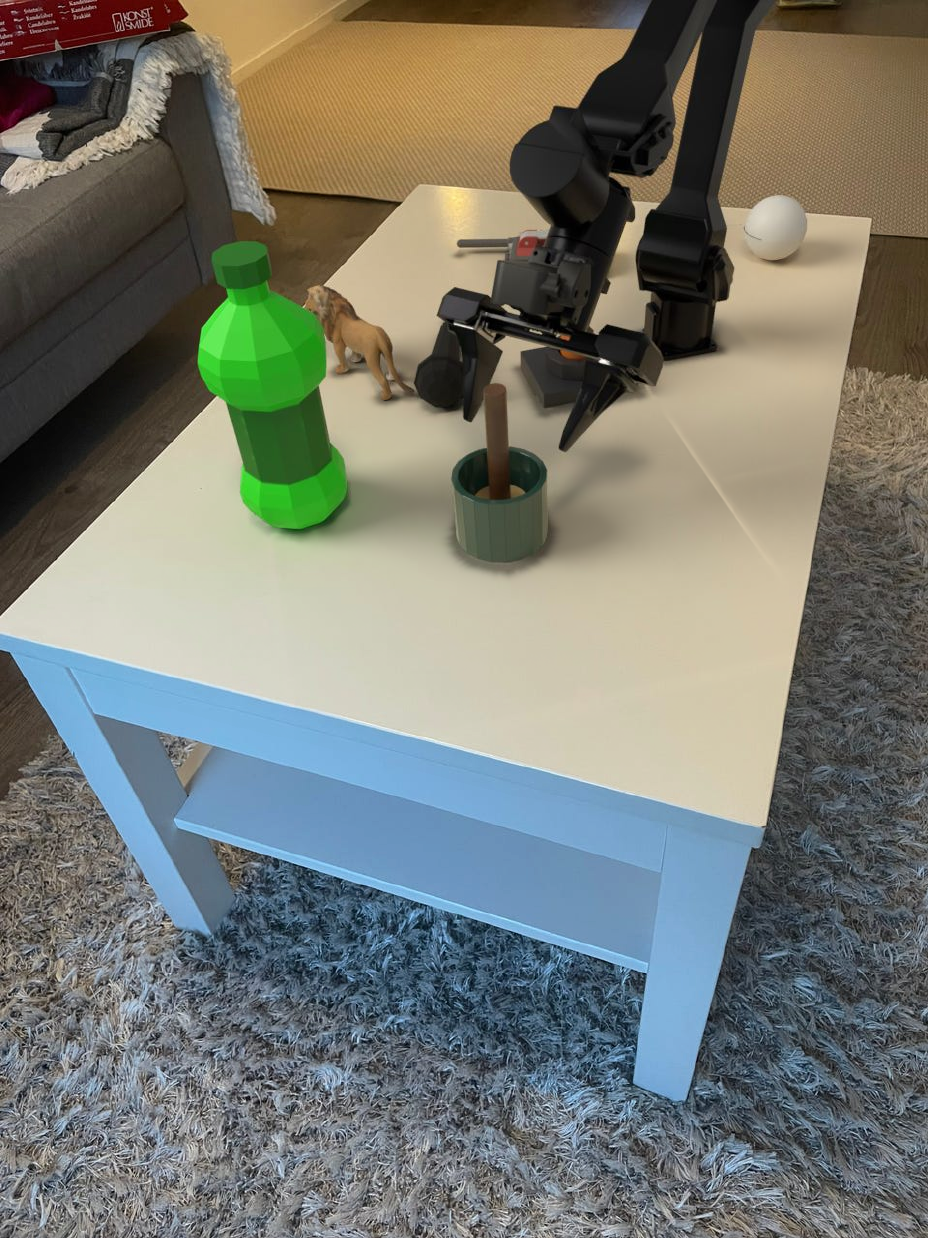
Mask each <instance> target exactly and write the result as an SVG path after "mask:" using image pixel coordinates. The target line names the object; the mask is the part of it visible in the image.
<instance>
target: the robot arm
mask: <svg viewBox="0 0 928 1238" xmlns="http://www.w3.org/2000/svg"><path fill="white" fill-rule="evenodd" d="M777 2H778V0H649V3H648V5H647V7H646V9H645V11H644V13H643V15H642V17H641V19H640V21H639V23H638V26H637V28H636V30H635V32H634V33H633V36H632V38H631V39H630V42H629V45H628V46H627V49H626V50H625V52H624V53H623V55H622V56H621V58H620V59H618V60H617V61H616V62H614V63H612V64H611V65H610V66H608V67H606V68H605V69H603V70H602V71H600V72H599V73H598V74H597V75H596V76H595V78H594V80H593V81H592V83H591V84H590V86H589V88H588V89H587V90H586V92H585V94H584V95H583V97H582V98H581V100H580V102H579V103H578V106H576V107H570V106H565V105H557V104H555V105H553V107H552V109H551V113H550V115H549V118H548V120H544V121H542V122H540V123H537V124H536V125H534V126H533V127H531V128H529V129H528V130H527V131H526V133H525V134H524V135H522V136H521V138H520V139H519V140H518V142H517V143H515V144H514V146H513V148H512V151H511V154H510V157H509V174H510V178H511V181H512V183H513V184H514V186H515V188H516V189H517V190H518V191H519V192H520V194H521V195H522V196H523V197H524V198H525V200H526V201H527V202H528V203H529V204H530V205H531V206H532V208H533V209H534V210H535V211H536V212H537V214H538V215H539V216H540V217H541V218H542V219H543V220H544V221H545V222H546V223H547V224H548V225H550V227H549V229H548V230H549V232H548V235H547V238H546V240H545V243H544V246H538V245H536V246H535V249H534V250H533V251H532V252H531V255H530V258H529V260H528V262H522V261H506V260H505V259H503V260H502V259H497V261H496V267H495V273H494V279H493V284H492V289H491V290H492V291H491V296H490V295H489V294H485V293H481V292H477V291H473V290H469V289H464V288H460V287H458V286H457V287H456V286H454V287H453V288H451V289H450V290H449V291H448V292H446V293H445V294H444V295H443V296H442V297H441V298H442V299H441V301H440V304H439V306H438V309H437V313H436V317H437V318H439V319H440V320H442V321H443V322H446V323H447V324H448V325H447V326H448V331H449V332H450V333H452V334H453V335H455V336H456V337H457V339H458V342H459V345H460V353H461V359H462V360H461V362H463V377H464V378H463V398H462V403H463V404H462V418H463V420H464V421H466V422H468V423H473V421H474V420H475V418H476V416H477V414H478V412H479V411H480V409H481V406H482V404H483V403H484V394H483V389H484V387H485V386H487V385H489V384H491V382H492V379H493V377H494V375H495V372H496V370H497V367H498V365H499V362H500V360H501V357H502V354H503V350H502V349H501V348H500V347H498V346H497V345H496V344H498V343H499V342H501V341H502V340H504V339H505V338H506V337H509V338H513V339H518V340H521V341H526V342H528V343H533V344H536V345H540V346H542V347H551V348H555V349H559V350H563V351H566V352H570V353H574V354H578V355H582V356H585V357H589V358H593V359H597V360H598V362H595V361H591V360H587V359H586V361H585V369H584V377H583V383H582V386H581V389H580V391H579V394H578V396H577V399H576V401H575V402H574V403H573V406H572V408H571V411H570V413H569V415H568V417H567V419H566V422H565V424H564V427H563V430H562V433H561V436H560V441H559V444H558V450H559V451H561V452H563V453H567V452H568V451H569V450H570V449H571V448H572V446H573V445H574V444H575V443H576V442H577V441H578V440H579V439H580V437H582V436H583V434H584V433H586V431H587V430H588V429H589V428H590V427H591V426H592V425H593V423H595V421H596V420H597V419H598V418H599V417H600V416H601V415H602V414H603V413H604V412H605V411H607V409H608V408H610V407H611V406H612V405H613V404H614V403H615V402H617V401H618V400H619V399H620V398H621V397H622V396H623V395H624V394H626V392H627V393H635V394H636V393H637V392H638V391H639V388H640V386H639V385H637V384H636V383H638V384H642V385H645V386H648V387H656V386H657V384H658V381H659V378H660V375H661V373H662V370H663V368H664V361H669V360H673V359H674V360H675V359H678V358H684V357H689V356H695V355H701V354H706V353H711V352H716V351H718V348H719V347H718V346H719V345H718V343H716V341H715V340H714V338H713V331H714V323H715V316H716V308H717V303H720V302H725V301H728V299H729V298H730V291H731V285H732V284H733V281H734V273H735V266H734V264H733V262H732V259H731V257H730V255H729V253H728V252H727V249H726V247H725V242H726V237H727V231H728V226H726V225H727V222H726V220H725V217H724V213H723V210H722V207H721V204H720V200H719V194H720V189H721V184H722V181H723V175H724V172H725V166H726V163H727V162H726V161H727V157H728V153H729V149H730V144H731V140H732V135H733V131H734V127H735V123H736V118H737V113H738V109H739V104H740V100H741V97H742V92H743V86H744V83H745V79H746V73H747V69H748V65H749V60H750V56H751V52H752V47H753V43H754V38H755V34H756V31H757V27H758V25H759V24H760V23H761V22H762V20H763V19H764V18H765V17H766V16H767V14H769V12H770V10H771V9H772V8H773V7H774V6H775V4H776V3H777ZM699 40H700V41H699ZM698 41H699V46H698V51H697V56H696V61H695V65H694V71H693V76H692V79H691V84H690V91H689V95H688V100H687V105H686V110H685V113H684V119H683V124H682V130H681V134H680V139H679V145H678V150H677V153H676V160H675V163H674V168H673V174H672V180H671V184H670V189H669V192H668V193H667V195H666V196H665V197H664V198H663V199H662V201H660V203H659V204H658V206H657V207H655V208H651V209H650V210H649V211H648V213H647V214H646V216H645V218H644V225H643V233H642V235H641V237H640V238H639V239H640V240H639V242H638V244H637V247H636V251H635V268H636V276H637V283H638V290H639V291H641V292H649V293H650V301H647V302H646V304H645V310H644V311H645V312H644V325H643V328H642V330H641V332H640V331H636V330H633V329H628V328H626V327H625V328H624V327H620V326H616V325H612V324H608V323H606V325H604V326H603V327H602V328H601V329H600V330H599V331H598V334H596V333H595V334H593V332H595V330H594V329H593V328H592V327H591V326H590V325H591V323H592V319H593V317H594V314H595V312H596V308H597V305H598V303H599V299H600V297H601V294H602V295H608V292H609V290H610V286H611V283H612V282H611V281H610V280H609V278H608V275H609V272H610V270H611V266H612V263H613V261H614V258H615V255H616V252H617V249H618V246H619V245H620V240H621V238H622V236H623V232H624V230H625V227H626V225H627V223H633V222H635V220H636V207H635V204H634V203H633V201H632V197H631V196H632V195H631V187H629V186H624V185H622V184H621V183H620V182H619V181H618V180H617V179H615V178H614V177H612V176H610V174H615V175H620V176H626V177H632V178H638V179H643V178H644V179H645V178H647V177H652V176H653V175H654V174H655V173H656V172H657V170H658V168H659V167H660V166H661V165H662V164H664V162H665V161H666V160H667V159H668V156H669V153H670V151H671V150H672V148H673V145H674V143H675V142H674V141H675V135H674V129H675V128H676V125H677V120H676V112H675V107H674V99H673V98H674V94H675V92H676V89H677V86H678V84H679V82H680V80H681V78H682V75H683V73H684V72H685V69H686V67H687V65H688V63H689V61H690V59H691V57H692V55H693V52H694V50H695V48H696V46H697V44H698ZM505 305H507V306H509V307H510V308H511V309H512V310H514V311H518V312H519V314H517V313H512V312H509V311H507V310H506V309H505V308H504V307H503V306H505ZM558 335H559V336H560V335H564V336H568V337H570V339H569V340H566V339H562V338H558ZM628 391H630V392H628Z"/></svg>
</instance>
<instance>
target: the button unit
mask: <svg viewBox="0 0 928 1238" xmlns="http://www.w3.org/2000/svg"><path fill="white" fill-rule="evenodd" d="M557 337H558V338H561V335H560V334H559V335H557ZM519 353H520V370H521V373H522V375H523V376H524V378H525V379H526V381H527V383H528V385H529V387H530V389H531V391H532V393H533V395H534V396H535V397H537V398H538V399H539V402H540V404H541V405H542V407H543V409H548V408H553V407H557V406H564V405H568V404H574V403H575V401H576V399H577V396H578V394H579V391H580V389H581V386H582V383H583V377H584V369H585V361H586V359H587V360H591V361H595V362H598V360H597V359H593V358H584V359H570V358H566V357H564V356H562V355H561V350H559V349H555V348H551V347H547V346H542V347H536V348H531V349H526V350H520V352H519ZM636 384H637V385H638V384H639V383H636ZM638 386H639V385H638ZM626 393H631V392H630V391H628V392H626ZM626 393H625V394H626Z"/></svg>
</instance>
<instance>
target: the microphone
mask: <svg viewBox="0 0 928 1238" xmlns="http://www.w3.org/2000/svg"><path fill="white" fill-rule="evenodd" d="M447 325H448V324H447V323H446V322H445V321H443V322H442V324H441V325H440V326H439V330H438V332H437V336H436V339H435V342H434V345H433V348H432V352H431V354H430V355H428V356H427V357H426V358H425V359H423V360H422V361H421V362H419V363H418V364H417V368H416V372H415V376H414V380H413V385H414V388H415V389H416V391H417V394H418V396H419V398H420V399H421V400H422V401H424V402H426V403H428V404H429V405H431V406H433V407H434V408H449V407H453V406H455V405H456V404H457V403H458V402H460V401H461V400H463V378H464V377H463V361H462V360H461V355H460V353H461V348H460V345H459V342H458V339H457V337H456V336H455V335H453V334H452V333H450V332H449V331H448V326H447Z"/></svg>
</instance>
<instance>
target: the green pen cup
mask: <svg viewBox="0 0 928 1238" xmlns="http://www.w3.org/2000/svg"><path fill="white" fill-rule="evenodd" d="M509 465H510V485H514V486H517V487H519V488H521V489H522V490H523V491H524V492H525V494H522V495H520V496H518V497H515V498H510V499H505V500H488V499H483V498H478V497H476V496H475V495H476V493H477V492H478V491H480V490H481V489H483V488H485V487H487V486H489V477H488V460H487V447H483V448H479V449H477V450H474V451H472V452H470V453H468V454H466V455H464V456H463V457H462V458H460V459H459V460H458V461H457V462H456V464H455V465H454V466H453V469H452V471H451V477H450V481H451V482H450V483H451V493H452V503H453V504H452V505H453V513H454V514H453V515H454V524H455V525H454V526H455V534H456V535H455V536H456V540H457V542H458V544H459V547H460V548H461V549H462V550H463V551H464V552H465V553H466V554H467V555H469V556H471V557H473V558H475V559H477V560H480V561H483V562H489V563H492V564H493V563H497V564H498V563H499V564H500V563H502V564H503V563H505V564H506V563H513V562H517V561H521V560H524V559H526V558H528V557H531V556H533V555H534V554H535V553H536V552H538V551H539V550H540V549H541V548H542V547H543V546H544V544H545V542H546V540H547V538H548V533H549V532H548V530H549V528H548V527H549V522H548V521H549V519H548V518H549V517H548V515H549V514H548V513H549V511H548V509H549V508H548V468H547V467H546V465H545V462H544V461H543V460H542V458H540V457H539V456H537V454H535V453H533V452H531V451H529V450H527V449H525V448H522V447H516V446H510V445H509Z"/></svg>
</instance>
